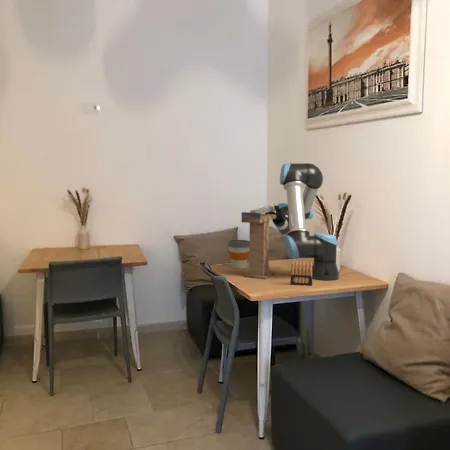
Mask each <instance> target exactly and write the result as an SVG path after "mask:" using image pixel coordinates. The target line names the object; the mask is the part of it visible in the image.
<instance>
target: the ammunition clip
mask: <svg viewBox="0 0 450 450" xmlns="http://www.w3.org/2000/svg"><path fill="white" fill-rule="evenodd" d="M312 266H313V263H312V261H310V262H308V261H306V263H305V261H304V260H303V261H302V262H301V261H299V262H298V261H297V260H296V261H295V262H294V260H292V261H291V267H290V268H291V269H290V283H289V284H290V286H304V285H306V287H312V286H313V278H312Z"/></svg>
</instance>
